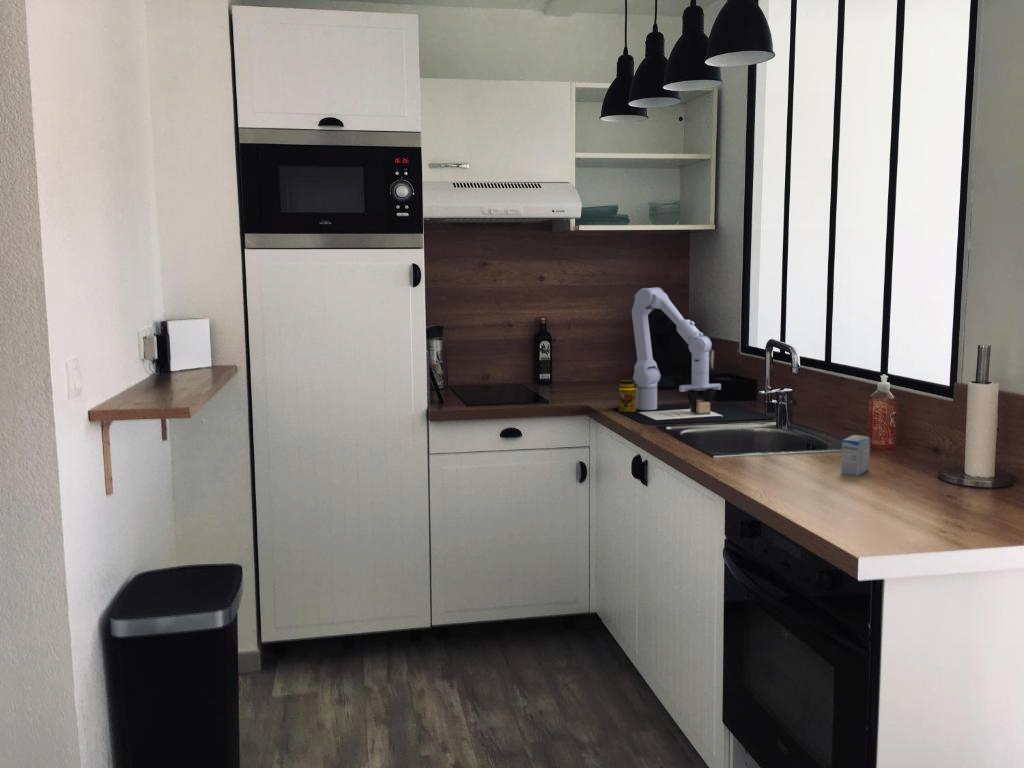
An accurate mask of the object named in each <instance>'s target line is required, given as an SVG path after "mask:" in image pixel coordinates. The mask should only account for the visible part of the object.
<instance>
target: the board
mask: <svg viewBox="0 0 1024 768" xmlns="http://www.w3.org/2000/svg"><path fill="white" fill-rule="evenodd" d="M638 413H639V414H641V415H643V416H646V417H648V418H650V419H653V420H655V421H661V420H664V421H665V420H675V419H693V418H705V417H706V418H707V417H722V418H723V416H724V415H722V414H719V413H717V412H714V411H711V410H710V414H707V415H698V414H695V413H692V412H690V408H687V409H670V410H669V409H667V410H655V411H654V410H651V411H640V412H638Z"/></svg>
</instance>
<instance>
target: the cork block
mask: <svg viewBox="0 0 1024 768" xmlns="http://www.w3.org/2000/svg"><path fill="white" fill-rule="evenodd" d="M689 405H690V404H689ZM689 409H690V412H692V409H691V405H690V407H689ZM710 411H711V403H710V402H707V401H704V399H703V400H702V399H697V402H696V412H692V413H695V414H698V415H707V414H710Z"/></svg>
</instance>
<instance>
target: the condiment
mask: <svg viewBox="0 0 1024 768" xmlns="http://www.w3.org/2000/svg"><path fill="white" fill-rule="evenodd" d="M618 411H619V412H621V413H622V412H624V413H634V412H637V408H636V384H635V381H634V380H633V379H621V380H619V388H618Z"/></svg>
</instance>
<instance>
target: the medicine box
mask: <svg viewBox="0 0 1024 768" xmlns="http://www.w3.org/2000/svg"><path fill="white" fill-rule="evenodd" d="M870 451H871V437H869V436H865V435H860V434H859V435H858V434H852V435H850V436H848V437H846V438H844V439H842V440H841V465H840V466H841V467H840V470H841V471H840V473H841V474H842V475H848V476H853V477H854V476H855V477H857V476H861V475H862V474H863V473H865V472H867V471H869V470H870V457H871V456H870V455H871V454H870V453H871V452H870Z"/></svg>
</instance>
